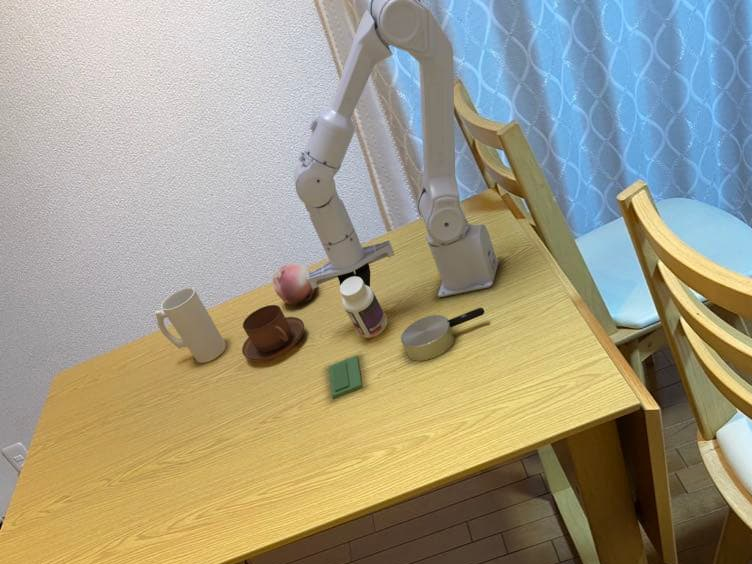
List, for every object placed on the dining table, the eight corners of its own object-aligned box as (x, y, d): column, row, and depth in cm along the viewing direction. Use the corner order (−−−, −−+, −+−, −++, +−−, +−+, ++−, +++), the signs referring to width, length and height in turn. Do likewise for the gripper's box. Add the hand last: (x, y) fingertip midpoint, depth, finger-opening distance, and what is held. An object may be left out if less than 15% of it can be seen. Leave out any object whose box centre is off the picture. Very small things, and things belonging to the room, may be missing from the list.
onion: (279, 301, 165) (262, 268, 161) (314, 281, 166) (298, 248, 161) (290, 316, 159) (272, 283, 155) (326, 295, 160) (309, 262, 155)
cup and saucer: (319, 325, 153) (305, 295, 149) (284, 368, 147) (268, 338, 143) (270, 326, 159) (255, 297, 155) (235, 367, 153) (218, 339, 149)
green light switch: (358, 357, 140) (356, 353, 140) (362, 387, 134) (360, 382, 133) (330, 368, 141) (327, 364, 140) (333, 399, 134) (330, 394, 134)
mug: (231, 337, 162) (199, 283, 154) (222, 358, 157) (188, 303, 149) (186, 350, 165) (152, 297, 157) (176, 371, 161) (140, 318, 153)
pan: (410, 367, 133) (403, 352, 131) (404, 341, 139) (398, 327, 137) (493, 334, 131) (487, 319, 129) (483, 309, 136) (478, 294, 135)
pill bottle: (390, 311, 144) (369, 270, 136) (385, 337, 142) (364, 296, 134) (360, 315, 146) (338, 274, 138) (355, 340, 144) (332, 300, 136)
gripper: (377, 207, 138) (406, 280, 147) (295, 242, 140) (329, 311, 149) (381, 225, 133) (411, 299, 142) (296, 260, 135) (331, 331, 144)
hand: (369, 307), depth 145 cm, fingers closed, pressing on pill bottle
